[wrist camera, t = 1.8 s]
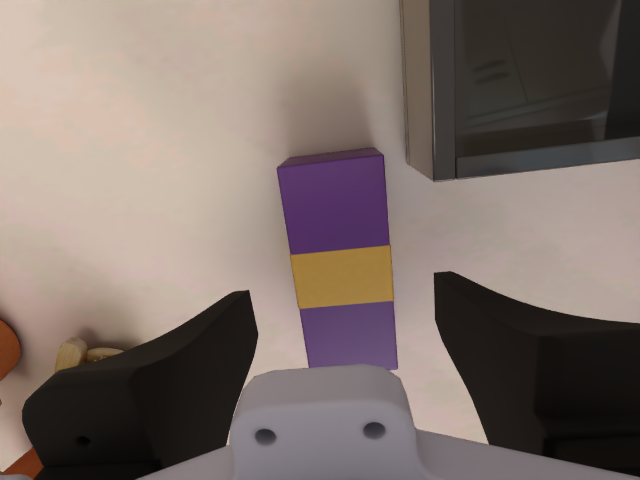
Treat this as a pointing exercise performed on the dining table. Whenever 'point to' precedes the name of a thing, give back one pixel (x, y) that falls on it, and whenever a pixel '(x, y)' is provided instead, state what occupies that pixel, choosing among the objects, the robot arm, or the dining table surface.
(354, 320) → the candy bar
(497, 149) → the sink
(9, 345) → the toy tea set
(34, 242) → the dining table surface
